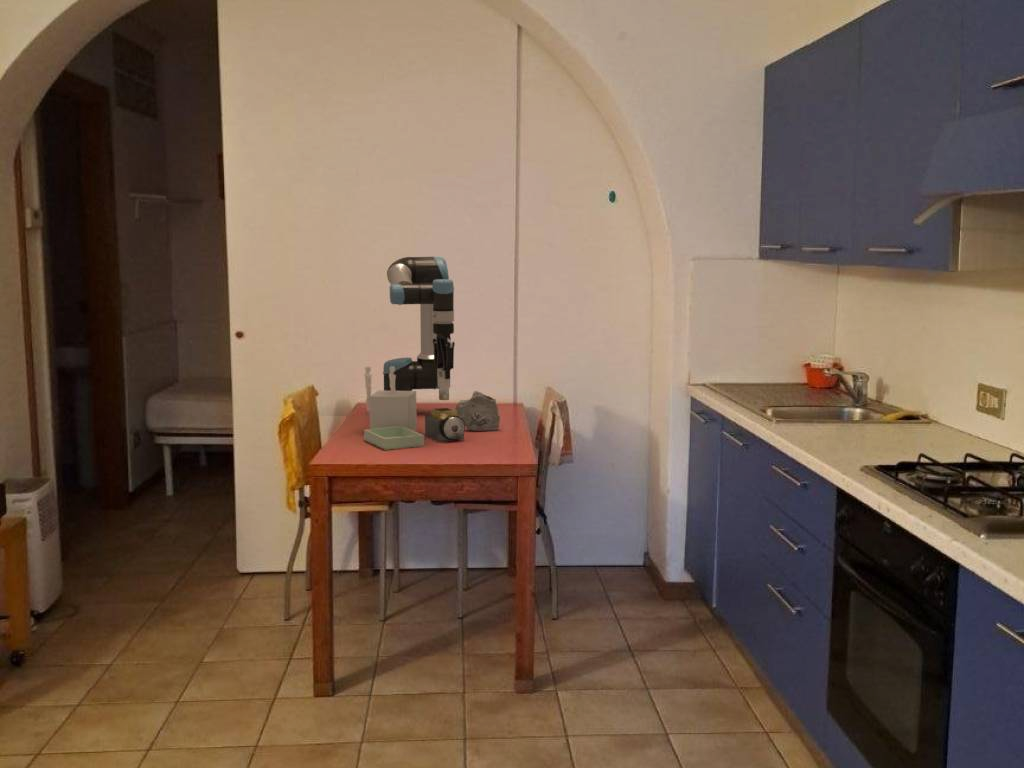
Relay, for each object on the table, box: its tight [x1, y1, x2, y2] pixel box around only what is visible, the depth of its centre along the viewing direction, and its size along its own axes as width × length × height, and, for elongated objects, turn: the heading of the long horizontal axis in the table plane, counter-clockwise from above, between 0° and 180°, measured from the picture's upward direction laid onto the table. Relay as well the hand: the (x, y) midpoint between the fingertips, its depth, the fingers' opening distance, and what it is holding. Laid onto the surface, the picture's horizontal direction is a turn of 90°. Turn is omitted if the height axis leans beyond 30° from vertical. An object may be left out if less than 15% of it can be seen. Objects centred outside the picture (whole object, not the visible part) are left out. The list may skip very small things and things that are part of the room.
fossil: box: [454, 390, 501, 432], centre depth 382 cm, size 17×7×15 cm, turn 93°
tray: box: [363, 426, 425, 451], centre depth 359 cm, size 20×15×4 cm
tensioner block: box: [424, 407, 466, 443], centre depth 367 cm, size 15×10×10 cm, turn 29°
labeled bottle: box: [438, 371, 450, 401], centre depth 366 cm, size 4×4×10 cm
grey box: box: [363, 365, 418, 431], centre depth 379 cm, size 15×18×25 cm
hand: (443, 386), depth 366 cm, fingers closed on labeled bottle, 4 cm apart
